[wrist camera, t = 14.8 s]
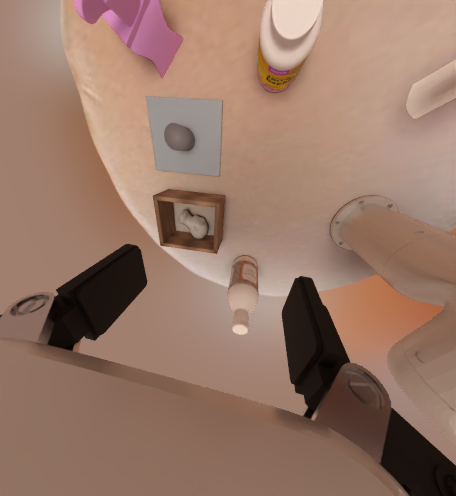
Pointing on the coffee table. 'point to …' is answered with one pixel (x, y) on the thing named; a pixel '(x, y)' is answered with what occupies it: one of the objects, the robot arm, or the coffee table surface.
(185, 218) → the smooth white sculpture
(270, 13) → the supplement bottle
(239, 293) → the bath foam
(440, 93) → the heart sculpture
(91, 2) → the toy chair
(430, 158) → the coffee table surface
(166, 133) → the lid
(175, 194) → the box
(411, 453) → the robot arm
